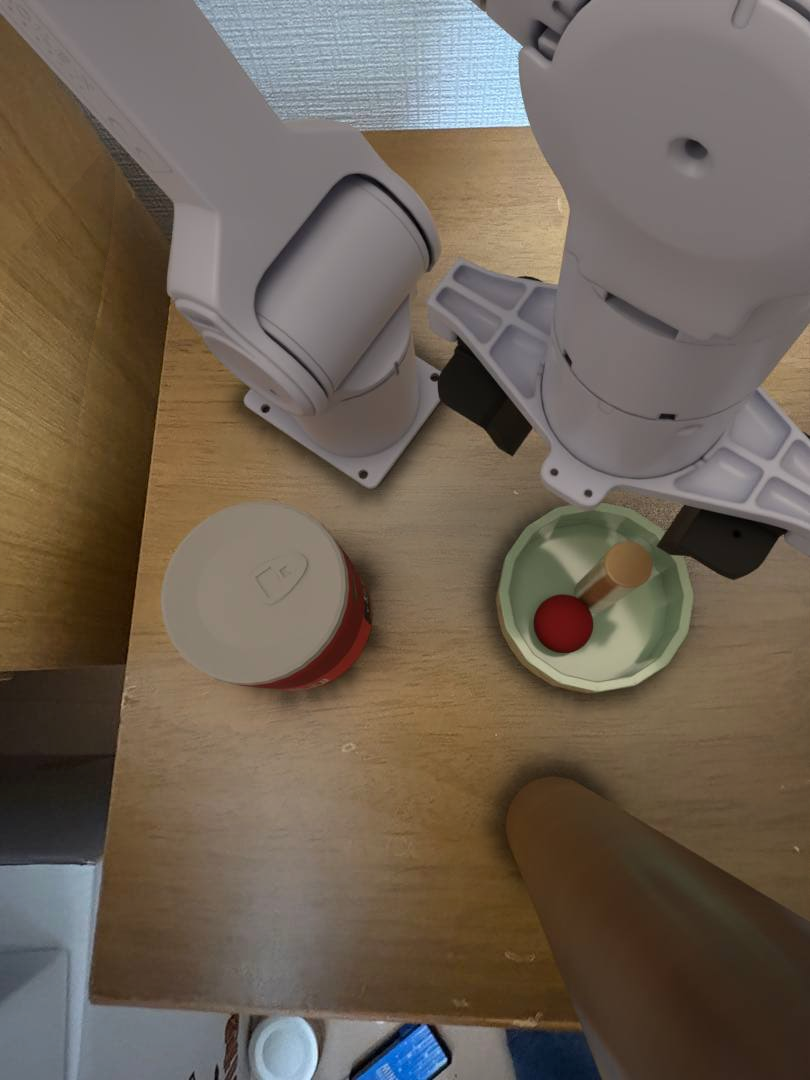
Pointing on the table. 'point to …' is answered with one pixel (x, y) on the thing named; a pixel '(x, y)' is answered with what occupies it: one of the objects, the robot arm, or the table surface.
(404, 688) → the table surface
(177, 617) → the canned food
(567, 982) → the pepper mill
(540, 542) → the bowl
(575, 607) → the bead
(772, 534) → the robot arm
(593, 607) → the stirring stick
